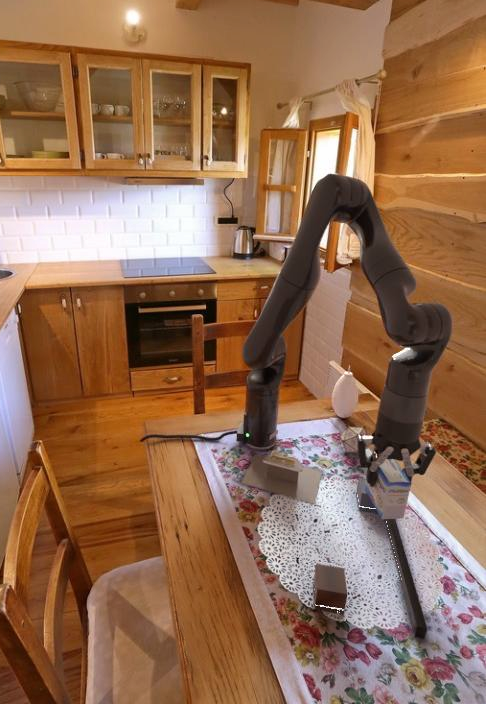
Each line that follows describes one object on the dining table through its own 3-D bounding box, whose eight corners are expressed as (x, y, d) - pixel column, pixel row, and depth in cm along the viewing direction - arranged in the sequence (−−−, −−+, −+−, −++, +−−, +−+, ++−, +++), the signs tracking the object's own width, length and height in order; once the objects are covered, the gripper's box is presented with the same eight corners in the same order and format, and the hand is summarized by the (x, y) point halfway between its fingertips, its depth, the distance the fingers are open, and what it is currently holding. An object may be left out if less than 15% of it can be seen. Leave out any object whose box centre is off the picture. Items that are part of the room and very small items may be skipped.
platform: (255, 454, 111) (256, 433, 109) (322, 471, 105) (324, 450, 103) (241, 483, 100) (242, 461, 98) (314, 504, 94) (317, 481, 92)
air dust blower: (331, 421, 126) (337, 369, 120) (328, 408, 134) (335, 358, 128) (357, 424, 125) (365, 372, 119) (353, 411, 132) (360, 360, 126)
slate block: (358, 510, 93) (361, 493, 91) (355, 494, 97) (358, 477, 96) (381, 513, 92) (385, 496, 90) (377, 497, 97) (380, 480, 95)
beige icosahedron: (354, 459, 115) (374, 431, 115) (362, 470, 107) (384, 439, 106) (328, 441, 116) (348, 412, 116) (333, 449, 107) (355, 418, 107)
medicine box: (363, 489, 83) (370, 454, 81) (384, 488, 84) (391, 453, 81) (381, 520, 76) (388, 483, 73) (404, 519, 76) (412, 482, 73)
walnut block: (314, 609, 71) (317, 589, 70) (313, 583, 76) (315, 563, 74) (343, 615, 70) (347, 594, 69) (340, 587, 75) (344, 568, 73)
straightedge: (414, 637, 67) (417, 626, 66) (378, 496, 97) (379, 487, 96) (424, 639, 67) (427, 628, 66) (385, 497, 97) (386, 488, 96)
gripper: (437, 403, 75) (420, 477, 81) (357, 395, 77) (346, 468, 83) (452, 426, 68) (432, 506, 74) (363, 416, 70) (350, 494, 76)
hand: (386, 485), depth 78 cm, fingers closed on medicine box, 5 cm apart
